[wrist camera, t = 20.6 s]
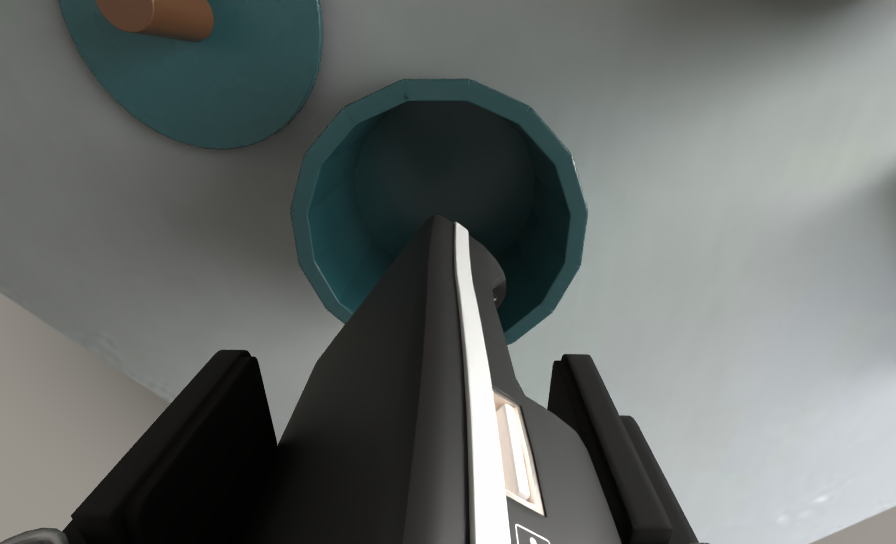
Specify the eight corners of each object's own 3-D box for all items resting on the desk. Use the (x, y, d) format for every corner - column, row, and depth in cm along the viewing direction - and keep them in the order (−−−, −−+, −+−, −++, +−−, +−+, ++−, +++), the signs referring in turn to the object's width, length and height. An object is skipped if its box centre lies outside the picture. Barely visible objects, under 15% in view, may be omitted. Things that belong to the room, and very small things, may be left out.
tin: (355, 279, 30) (314, 357, 22) (333, 80, 25) (267, 79, 16) (536, 280, 30) (567, 360, 21) (555, 79, 25) (607, 78, 16)
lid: (120, 146, 27) (32, 164, 21) (26, -146, 21) (-130, -228, 15) (339, 146, 26) (308, 163, 21) (306, -151, 21) (251, -236, 15)
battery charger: (407, 417, 15) (302, 1244, 4) (311, 363, 14) (-122, 1267, 3) (543, 275, 12) (1054, 1390, 2) (439, 197, 11) (298, 1632, 1)
